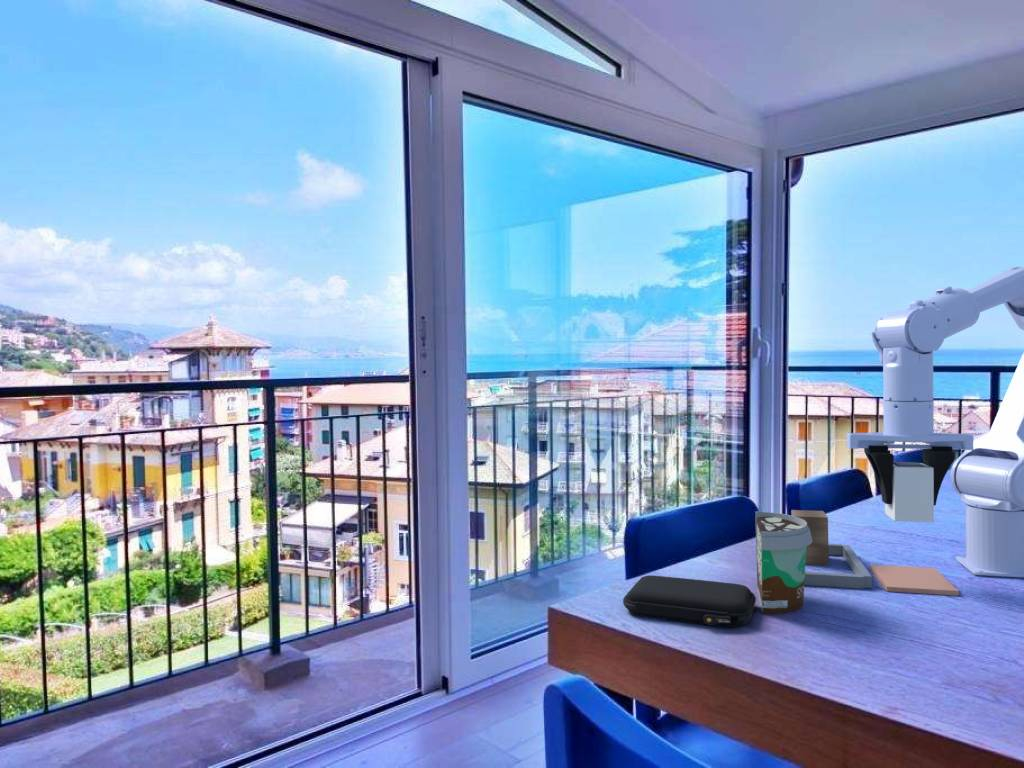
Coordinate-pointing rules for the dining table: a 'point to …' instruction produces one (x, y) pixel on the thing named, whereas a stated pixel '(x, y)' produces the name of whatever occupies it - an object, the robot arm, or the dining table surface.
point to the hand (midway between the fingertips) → (908, 503)
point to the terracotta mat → (913, 580)
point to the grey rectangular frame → (842, 580)
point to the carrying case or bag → (691, 601)
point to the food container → (781, 561)
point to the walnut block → (816, 536)
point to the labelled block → (912, 493)
